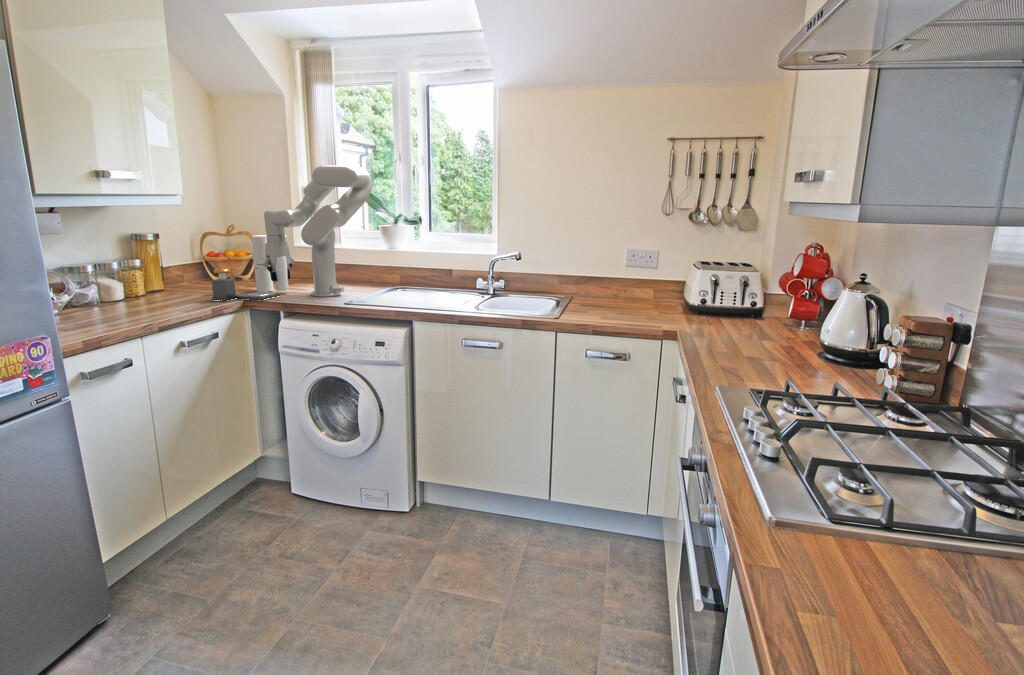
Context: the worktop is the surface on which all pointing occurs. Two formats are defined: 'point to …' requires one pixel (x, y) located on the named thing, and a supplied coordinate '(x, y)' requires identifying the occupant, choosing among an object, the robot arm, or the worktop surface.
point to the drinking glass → (281, 274)
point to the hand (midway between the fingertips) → (280, 279)
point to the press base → (227, 291)
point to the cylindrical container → (261, 264)
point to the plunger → (222, 273)
